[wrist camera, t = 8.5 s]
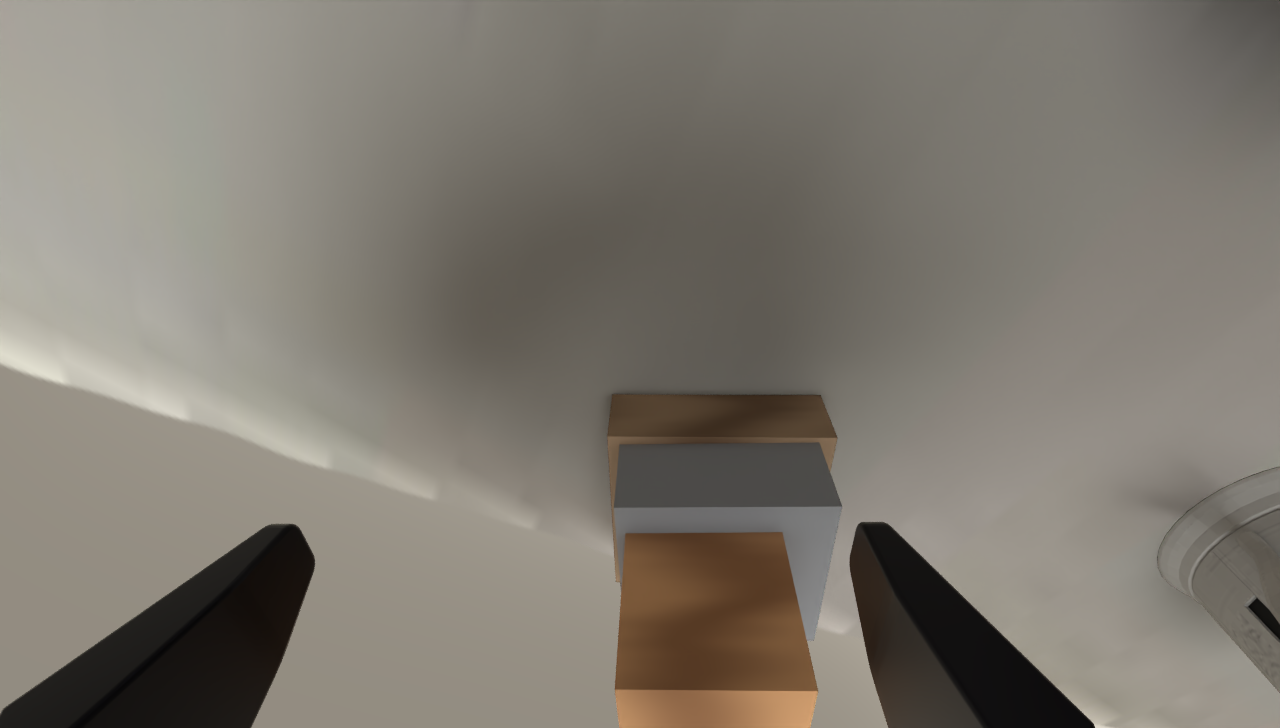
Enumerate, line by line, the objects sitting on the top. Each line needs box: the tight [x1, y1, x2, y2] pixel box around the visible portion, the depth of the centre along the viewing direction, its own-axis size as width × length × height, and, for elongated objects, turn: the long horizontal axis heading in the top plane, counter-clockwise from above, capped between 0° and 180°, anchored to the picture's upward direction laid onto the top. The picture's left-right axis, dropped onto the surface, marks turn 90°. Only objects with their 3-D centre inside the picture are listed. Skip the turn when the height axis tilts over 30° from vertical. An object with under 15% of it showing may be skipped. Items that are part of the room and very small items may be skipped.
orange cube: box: [615, 532, 818, 728], centre depth 18 cm, size 5×5×5 cm
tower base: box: [607, 394, 837, 582], centre depth 24 cm, size 8×8×3 cm
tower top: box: [614, 442, 842, 641], centre depth 21 cm, size 7×7×3 cm
